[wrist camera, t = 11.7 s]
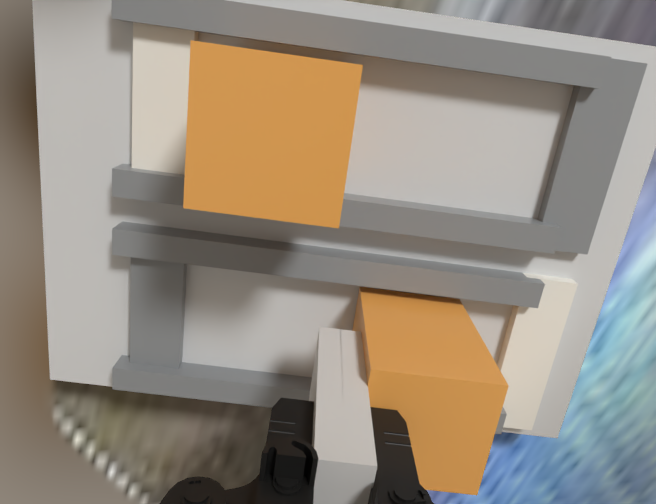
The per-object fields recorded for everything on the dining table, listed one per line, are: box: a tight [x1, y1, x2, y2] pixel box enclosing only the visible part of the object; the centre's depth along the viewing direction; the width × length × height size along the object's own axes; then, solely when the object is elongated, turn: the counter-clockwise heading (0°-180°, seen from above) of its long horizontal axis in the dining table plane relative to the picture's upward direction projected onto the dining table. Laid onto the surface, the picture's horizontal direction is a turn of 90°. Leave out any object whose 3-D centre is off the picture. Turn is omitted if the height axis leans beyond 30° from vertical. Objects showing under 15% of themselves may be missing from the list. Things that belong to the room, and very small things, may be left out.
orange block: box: [183, 40, 363, 228], centre depth 16 cm, size 4×4×6 cm
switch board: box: [32, 0, 656, 438], centre depth 20 cm, size 22×16×3 cm
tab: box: [352, 287, 509, 495], centre depth 18 cm, size 4×4×6 cm
